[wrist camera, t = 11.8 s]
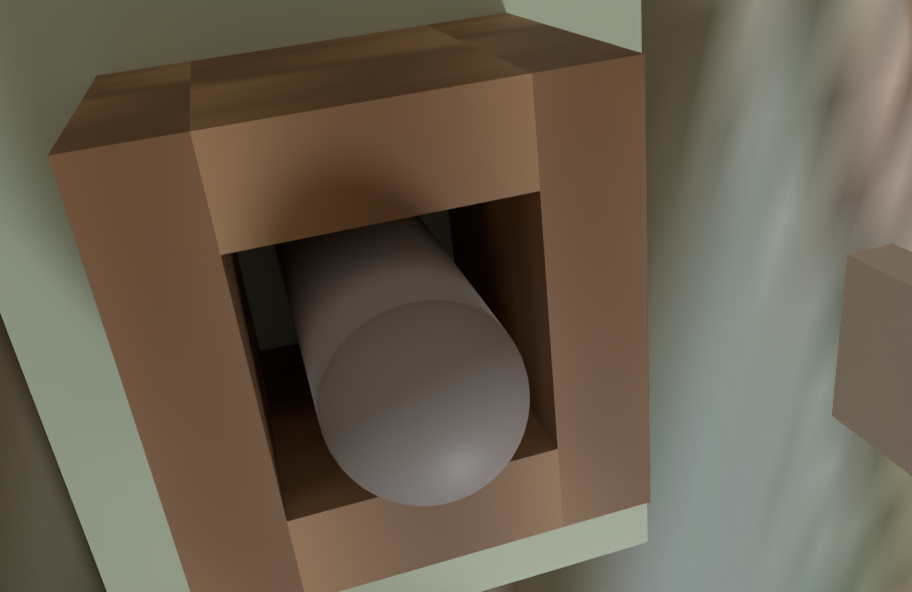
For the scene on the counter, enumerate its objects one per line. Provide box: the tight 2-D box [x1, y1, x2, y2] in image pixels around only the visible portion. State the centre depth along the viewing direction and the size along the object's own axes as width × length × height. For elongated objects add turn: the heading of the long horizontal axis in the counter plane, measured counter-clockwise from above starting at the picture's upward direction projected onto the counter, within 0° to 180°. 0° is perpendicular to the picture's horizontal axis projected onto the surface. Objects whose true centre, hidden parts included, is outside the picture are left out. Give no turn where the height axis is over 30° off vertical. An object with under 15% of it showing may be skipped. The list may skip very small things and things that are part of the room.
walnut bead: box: [48, 13, 650, 592], centre depth 16 cm, size 8×8×6 cm
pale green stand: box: [0, 0, 648, 592], centre depth 15 cm, size 14×22×10 cm, turn 6°
